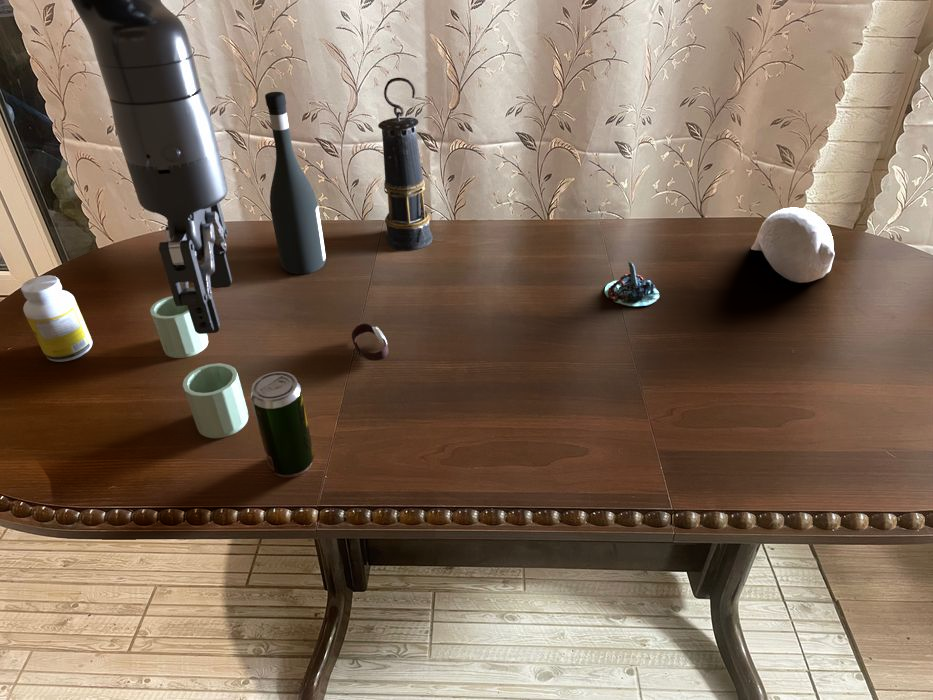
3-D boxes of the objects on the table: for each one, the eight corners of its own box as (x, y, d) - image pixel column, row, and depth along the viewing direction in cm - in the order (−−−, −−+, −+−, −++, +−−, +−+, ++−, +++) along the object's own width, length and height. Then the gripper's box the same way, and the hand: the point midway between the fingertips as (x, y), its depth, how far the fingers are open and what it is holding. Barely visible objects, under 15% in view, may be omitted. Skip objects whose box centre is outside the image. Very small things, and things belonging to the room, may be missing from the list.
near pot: (204, 445, 81) (189, 402, 77) (191, 416, 85) (177, 374, 81) (254, 426, 84) (243, 383, 80) (240, 399, 88) (228, 357, 84)
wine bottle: (310, 251, 123) (282, 84, 105) (335, 265, 118) (311, 93, 101) (273, 266, 118) (237, 94, 100) (298, 281, 114) (265, 103, 96)
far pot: (168, 363, 95) (155, 323, 91) (159, 341, 99) (146, 302, 95) (213, 349, 98) (202, 309, 93) (202, 329, 102) (191, 290, 98)
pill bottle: (64, 336, 100) (34, 270, 94) (103, 340, 100) (75, 273, 93) (35, 362, 95) (2, 293, 88) (76, 365, 94) (45, 297, 88)
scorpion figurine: (646, 299, 103) (630, 257, 106) (609, 318, 108) (595, 277, 110) (670, 304, 109) (654, 264, 111) (634, 321, 113) (619, 283, 116)
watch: (397, 357, 96) (395, 337, 93) (368, 368, 94) (365, 347, 91) (373, 332, 101) (371, 312, 99) (345, 342, 99) (342, 322, 97)
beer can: (284, 486, 75) (265, 408, 68) (260, 462, 79) (239, 385, 72) (323, 463, 78) (309, 385, 71) (299, 440, 82) (282, 364, 75)
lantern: (390, 228, 131) (377, 68, 113) (436, 229, 130) (429, 69, 112) (381, 249, 123) (365, 82, 106) (429, 251, 122) (421, 83, 105)
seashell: (753, 312, 118) (815, 275, 104) (715, 245, 120) (771, 201, 107) (810, 288, 123) (876, 251, 110) (773, 225, 126) (833, 181, 113)
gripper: (145, 124, 61) (189, 276, 71) (100, 181, 50) (160, 353, 59) (227, 120, 62) (261, 270, 72) (202, 175, 51) (245, 345, 60)
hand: (215, 307), depth 65 cm, fingers open, 8 cm apart
